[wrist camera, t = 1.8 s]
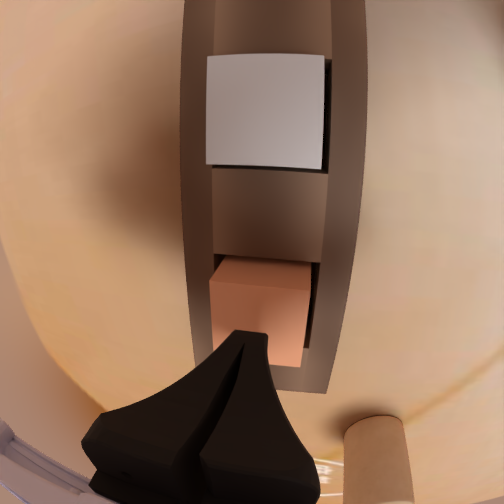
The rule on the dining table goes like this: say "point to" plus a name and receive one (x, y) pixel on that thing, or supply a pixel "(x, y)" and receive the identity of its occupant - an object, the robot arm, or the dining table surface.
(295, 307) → the orange cube
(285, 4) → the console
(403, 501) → the candle
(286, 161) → the light gray cube
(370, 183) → the dining table surface
